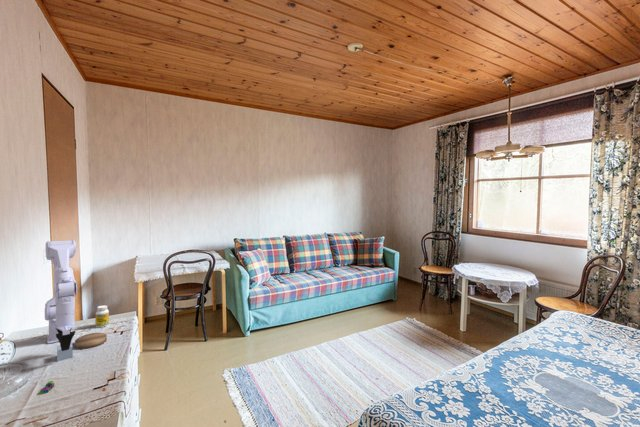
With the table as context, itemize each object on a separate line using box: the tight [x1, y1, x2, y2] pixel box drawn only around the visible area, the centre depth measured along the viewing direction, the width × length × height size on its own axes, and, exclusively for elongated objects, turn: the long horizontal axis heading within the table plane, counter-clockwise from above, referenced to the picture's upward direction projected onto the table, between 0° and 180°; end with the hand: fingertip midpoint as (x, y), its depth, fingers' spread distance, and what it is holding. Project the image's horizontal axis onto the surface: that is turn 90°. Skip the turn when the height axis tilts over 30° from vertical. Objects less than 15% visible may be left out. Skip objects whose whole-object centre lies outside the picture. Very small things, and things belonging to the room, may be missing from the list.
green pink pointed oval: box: [36, 380, 55, 396], centre depth 96 cm, size 4×3×2 cm
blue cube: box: [56, 342, 74, 362], centre depth 116 cm, size 4×4×4 cm
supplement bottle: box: [95, 305, 110, 328], centre depth 145 cm, size 5×5×10 cm
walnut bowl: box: [74, 332, 107, 350], centre depth 128 cm, size 11×11×2 cm
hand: (64, 346), depth 116 cm, fingers open, 7 cm apart
